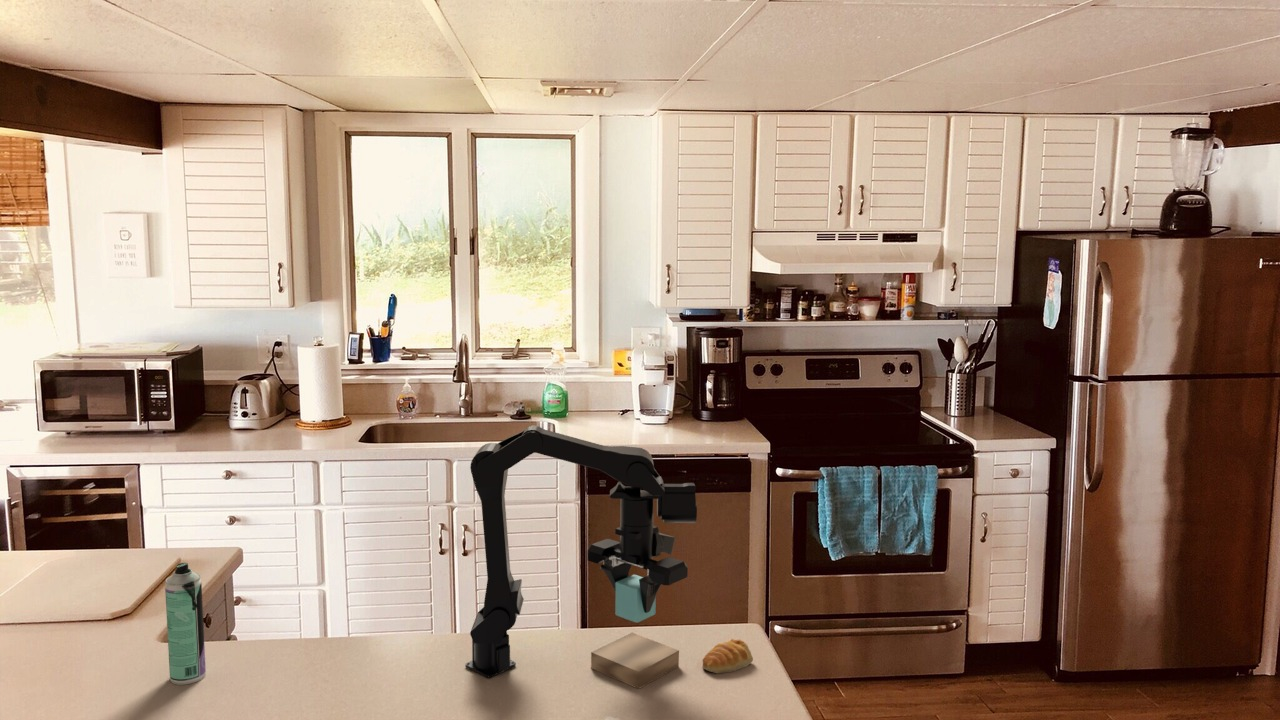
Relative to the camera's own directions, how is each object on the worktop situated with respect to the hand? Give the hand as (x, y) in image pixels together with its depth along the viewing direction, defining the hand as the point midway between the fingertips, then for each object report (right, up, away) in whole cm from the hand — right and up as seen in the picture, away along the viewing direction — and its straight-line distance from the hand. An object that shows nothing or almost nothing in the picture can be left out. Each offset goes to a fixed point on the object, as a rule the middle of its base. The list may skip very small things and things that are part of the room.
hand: (635, 607), depth 162 cm
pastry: (+17, -11, +4) cm, 20 cm away
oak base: (0, -11, +2) cm, 11 cm away
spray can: (-76, -11, -5) cm, 77 cm away
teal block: (0, -1, 0) cm, 1 cm away
